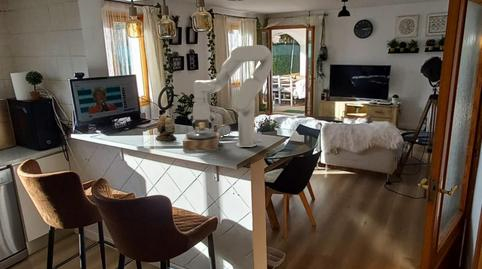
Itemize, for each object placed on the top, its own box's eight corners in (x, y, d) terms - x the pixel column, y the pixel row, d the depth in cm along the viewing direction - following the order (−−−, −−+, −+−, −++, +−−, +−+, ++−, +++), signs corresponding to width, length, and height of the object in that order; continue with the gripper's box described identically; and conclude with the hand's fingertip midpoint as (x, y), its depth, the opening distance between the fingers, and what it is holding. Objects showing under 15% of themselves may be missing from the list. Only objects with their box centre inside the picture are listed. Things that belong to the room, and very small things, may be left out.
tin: (228, 134, 241) (227, 122, 239) (231, 135, 239) (231, 123, 237) (213, 138, 229) (212, 126, 228) (216, 139, 227) (216, 127, 226)
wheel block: (218, 142, 220) (218, 132, 219) (217, 150, 201) (217, 140, 200) (187, 142, 220) (186, 133, 219) (183, 151, 200) (182, 140, 199)
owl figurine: (182, 139, 228) (180, 114, 225) (167, 143, 220) (165, 116, 216) (166, 135, 240) (164, 111, 237) (151, 139, 232) (149, 113, 228)
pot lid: (216, 138, 201) (215, 127, 199) (184, 139, 200) (184, 128, 198) (216, 132, 218) (216, 122, 217) (187, 133, 217) (187, 122, 216)
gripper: (186, 102, 208) (187, 130, 211) (215, 101, 208) (216, 129, 212) (187, 100, 215) (188, 127, 219) (215, 99, 215) (216, 127, 219)
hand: (202, 128), depth 215 cm, fingers open, 9 cm apart
